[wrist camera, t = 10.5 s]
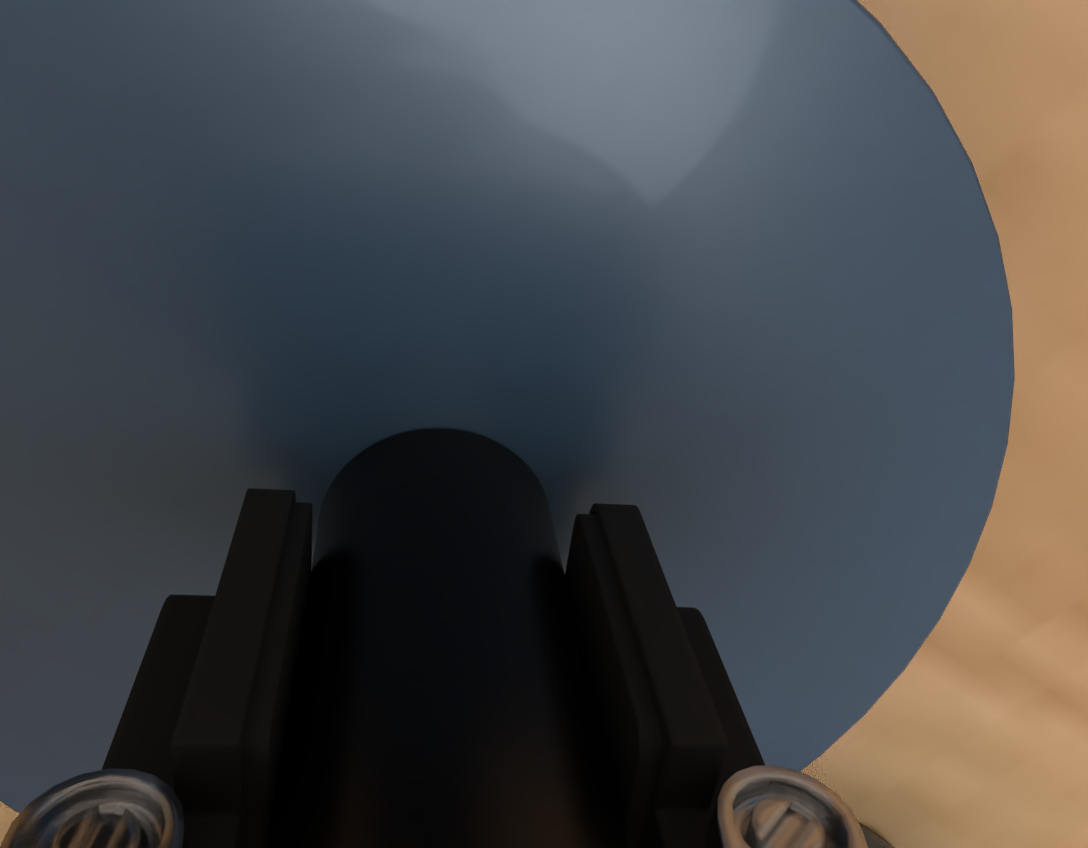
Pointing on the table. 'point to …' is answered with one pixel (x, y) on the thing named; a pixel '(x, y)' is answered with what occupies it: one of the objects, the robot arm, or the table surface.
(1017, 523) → the table surface
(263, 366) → the lid
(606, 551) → the robot arm
